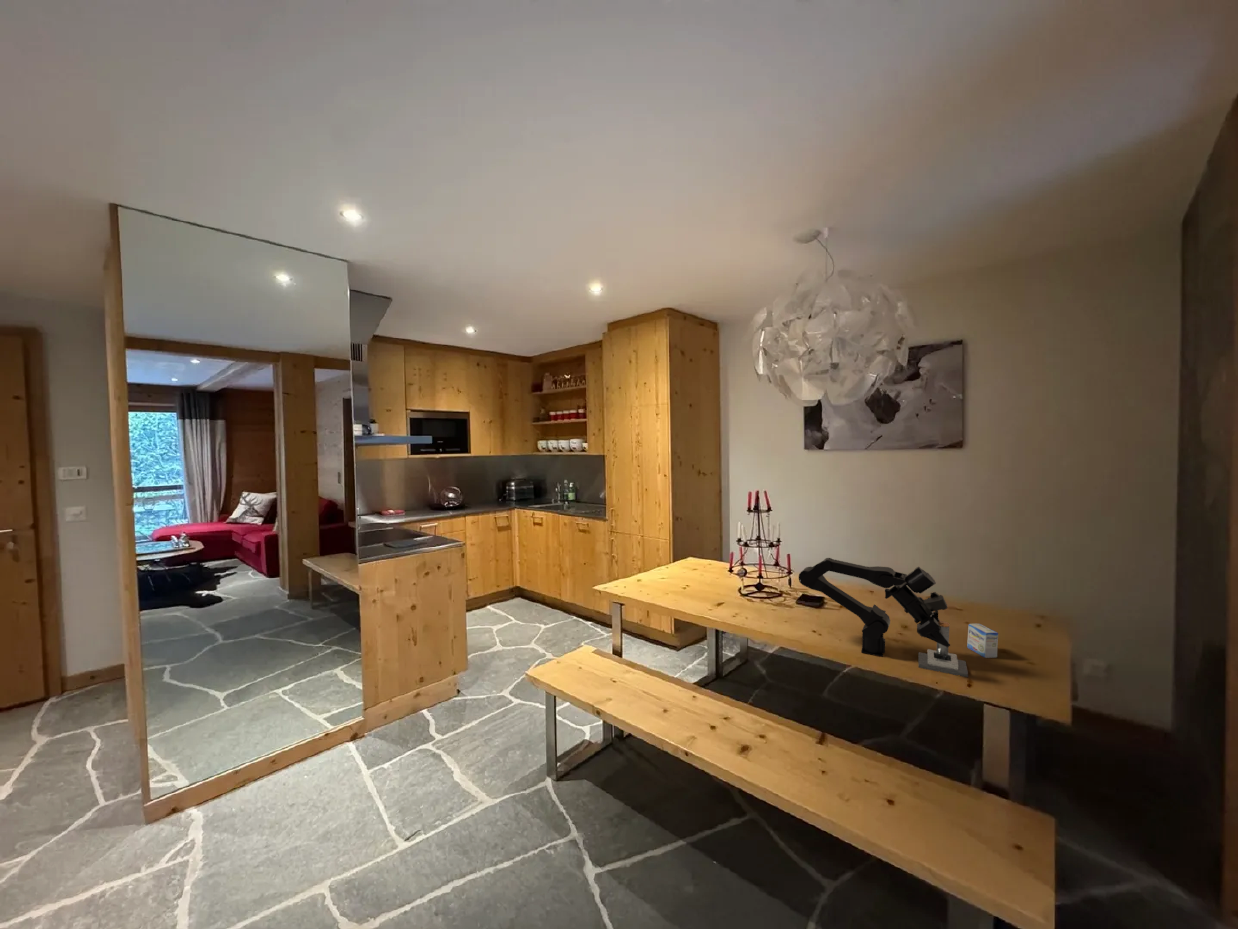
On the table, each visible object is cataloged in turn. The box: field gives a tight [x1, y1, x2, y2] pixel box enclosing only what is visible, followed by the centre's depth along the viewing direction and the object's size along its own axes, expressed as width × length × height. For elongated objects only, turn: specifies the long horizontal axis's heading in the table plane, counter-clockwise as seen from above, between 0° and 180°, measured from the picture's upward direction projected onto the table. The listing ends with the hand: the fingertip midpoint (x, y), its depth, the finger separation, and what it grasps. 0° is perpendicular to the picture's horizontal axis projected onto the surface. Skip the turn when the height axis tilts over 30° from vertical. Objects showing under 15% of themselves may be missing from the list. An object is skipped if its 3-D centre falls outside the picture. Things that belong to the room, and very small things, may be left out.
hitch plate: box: [917, 648, 969, 678], centre depth 160 cm, size 13×10×3 cm
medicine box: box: [966, 623, 999, 659], centre depth 168 cm, size 8×4×9 cm, turn 4°
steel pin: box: [935, 620, 951, 660], centre depth 159 cm, size 3×3×13 cm
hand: (948, 640), depth 158 cm, fingers open, 9 cm apart
